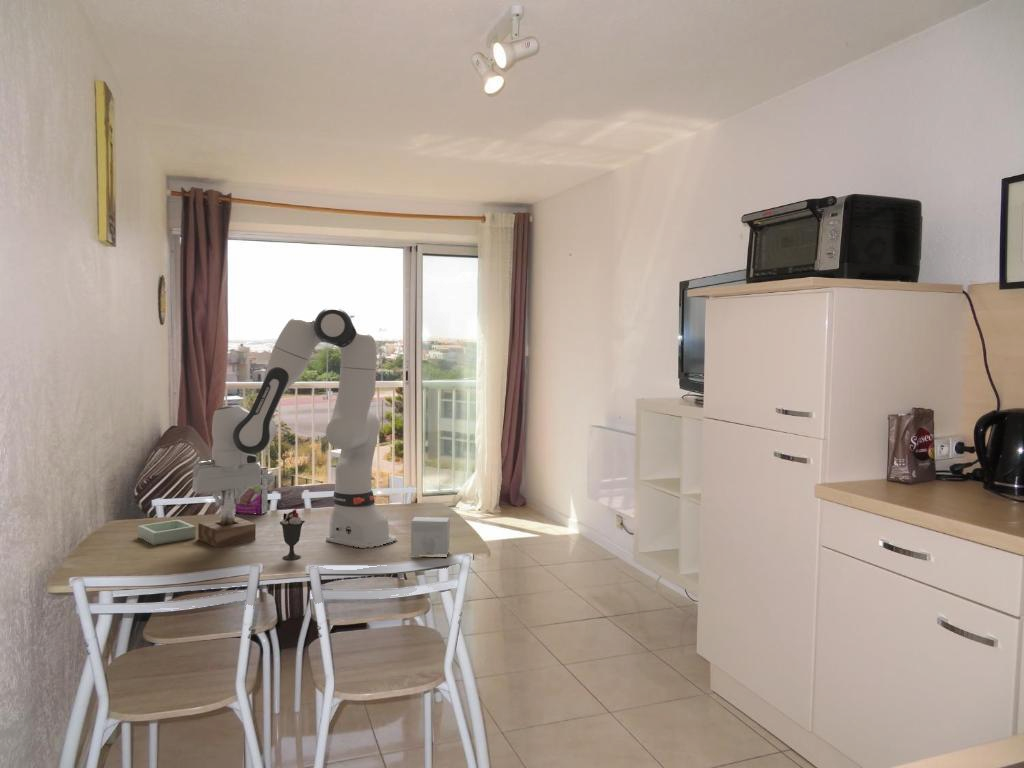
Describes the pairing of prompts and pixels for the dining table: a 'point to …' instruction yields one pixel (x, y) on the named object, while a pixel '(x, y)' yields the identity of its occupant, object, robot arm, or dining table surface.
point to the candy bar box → (254, 497)
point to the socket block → (226, 532)
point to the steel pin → (228, 507)
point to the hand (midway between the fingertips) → (227, 504)
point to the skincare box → (429, 535)
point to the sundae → (291, 532)
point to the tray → (166, 532)
